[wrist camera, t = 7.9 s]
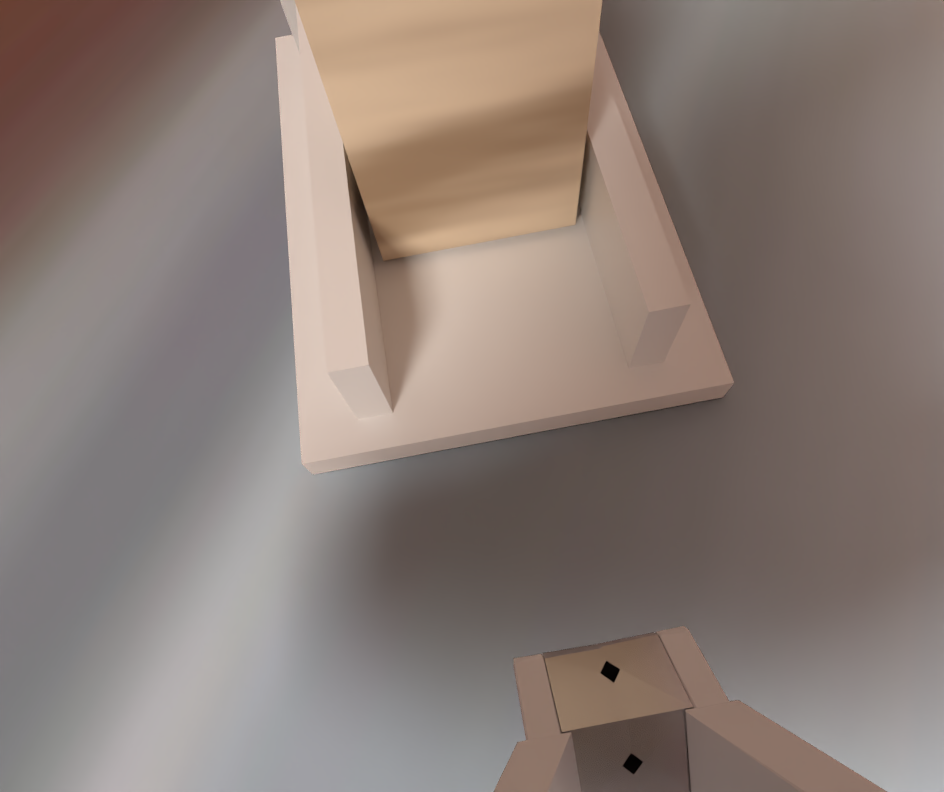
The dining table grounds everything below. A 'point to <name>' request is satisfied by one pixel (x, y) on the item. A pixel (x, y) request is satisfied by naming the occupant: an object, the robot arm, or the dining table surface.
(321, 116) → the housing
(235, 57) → the dining table surface
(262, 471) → the dining table surface
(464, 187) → the light wood tall block
